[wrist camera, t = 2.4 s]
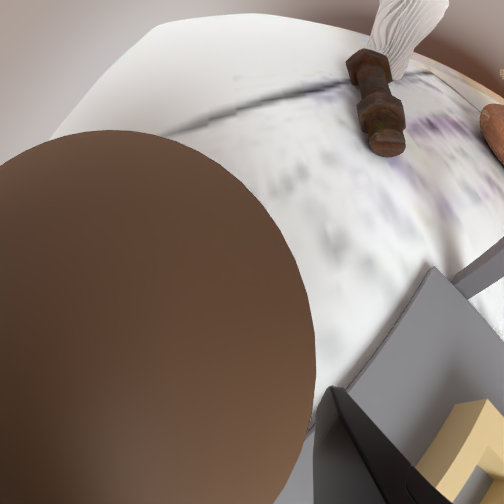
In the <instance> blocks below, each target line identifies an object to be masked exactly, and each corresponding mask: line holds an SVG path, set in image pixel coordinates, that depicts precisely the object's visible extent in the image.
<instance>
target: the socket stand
mask: <svg viewBox="0 0 504 504" xmlns="http://www.w3.org/2000/svg"><path fill="white" fill-rule="evenodd" d="M502 277H504V237H503V238H502V239H500V240H499V241H498V242H497V243H496V244H494V245H493V246H492V247H491V248H490V249H488V250H487V251H486V252H485V253H483V254H482V255H481V256H480V257H478V258H477V259H476V260H475V261H473V262H472V263H471V264H469V265H468V266H467V267H466V268H464V269H463V270H462V271H460V272H459V273H458V274H456V275H455V277H454V279H453V282H452V283H451V282H450V281H449V280H448V279H447V278H446V277H445V276H444V275H443V274H442V273H441V272H440V271H439V270H438V269H437V268H436V267H435V266H434V267H433V268H431V269H430V270H429V271H428V273H427V274H426V276H425V278H424V279H423V281H422V283H421V285H420V286H419V288H418V289H417V291H416V293H415V294H414V296H413V298H412V299H411V301H410V302H409V304H408V306H407V307H406V309H405V310H404V312H403V313H402V315H401V316H400V318H399V319H398V321H397V322H396V324H395V325H394V327H393V328H392V330H391V331H390V333H389V334H388V335H387V337H386V338H385V340H384V341H383V342H382V344H381V345H380V347H379V348H378V349H377V351H376V352H375V353H374V355H373V356H372V357H371V359H370V360H369V361H368V363H367V364H366V365H365V367H364V368H363V369H362V370H361V372H360V373H359V374H358V375H357V377H356V378H355V379H354V380H353V382H352V383H351V384H350V385H349V387H348V388H347V389H346V390H345V391H346V392H347V393H348V394H349V395H350V396H351V397H352V399H353V400H354V401H355V402H356V403H357V404H358V405H359V406H360V408H361V409H362V410H363V411H364V412H365V413H366V414H367V415H368V416H369V418H370V419H371V420H372V421H373V422H374V423H375V424H376V425H377V427H378V428H379V429H380V430H381V431H382V432H383V433H384V434H385V435H386V436H387V438H388V439H389V440H390V441H391V442H392V443H393V444H394V445H395V446H396V447H397V449H398V450H399V451H400V452H401V453H402V454H403V455H404V456H405V457H406V458H407V459H408V461H409V462H410V463H411V466H412V465H413V466H414V467H415V468H416V469H417V470H418V471H419V472H420V473H421V474H422V475H423V476H424V478H425V479H426V480H427V481H428V482H429V483H430V484H431V485H432V486H434V487H435V488H436V489H437V490H438V491H439V492H440V493H441V494H442V495H444V496H445V497H446V498H447V499H448V500H449V501H451V502H452V503H453V504H504V342H503V341H502V340H501V339H500V337H499V336H498V335H497V334H496V332H495V331H494V330H493V329H492V328H491V326H490V325H489V324H488V323H487V322H486V321H485V319H484V318H483V317H482V316H481V315H480V314H479V313H478V312H477V310H476V309H475V308H474V307H473V306H472V305H471V304H470V303H469V302H468V299H469V298H471V297H473V296H474V295H476V294H477V293H479V292H481V291H482V290H484V289H485V288H487V287H488V286H490V285H492V284H493V283H495V282H496V281H498V280H499V279H501V278H502ZM314 434H315V425H314V426H313V427H312V428H311V429H310V430H309V432H308V433H307V434H306V436H305V440H304V443H303V447H302V450H301V453H300V455H299V458H298V460H297V462H296V464H295V466H294V468H293V471H292V473H291V475H290V477H289V479H288V481H287V483H286V485H285V487H284V489H283V490H282V492H281V493H280V495H279V496H278V497H277V499H276V500H275V502H274V503H273V504H313V445H314Z"/></svg>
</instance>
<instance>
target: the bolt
mask: <svg viewBox="0 0 504 504" xmlns="http://www.w3.org/2000/svg"><path fill="white" fill-rule="evenodd" d="M346 66H347V69H348V72H349V76H350V79H351V82H352V84H353V85H356V86H359V87H360V91H361V96H362V101H360V103H359V104H358V105H357V111H358V116H359V120H360V124H361V128H362V131H363V132H364V133H366V134H368V137H369V146H370V149H371V150H372V151H373V152H374V153H376V154H377V155H379V156H382V157H394V156H398V155H400V154H401V153H403V151H404V150H405V147H406V144H405V138H404V135H403V130H404V129H405V128H406V124H405V115H404V110H403V105H402V103H401V100H399V99H397V98H395V97H393V96H392V95H391V92H390V89H389V86H388V83H390V82H391V81H393V80H392V74H391V69H390V65H389V60H388V58H387V56H385V55H383V54H381V53H378V52H376V51H373V50H369V49H364V48H363V49H361V50H359V51H358V52H356V53H355V54H353V55H352V56H351V57H350V58H349V59H348V60H347V61H346Z"/></svg>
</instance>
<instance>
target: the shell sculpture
mask: <svg viewBox="0 0 504 504" xmlns="http://www.w3.org/2000/svg"><path fill="white" fill-rule="evenodd" d="M448 6H449V1H448V0H380V7H379V10H378V12H377V15H376V19H375V22H374V26H373V29H372V32H371V36H370V39H369V42H368V45H367V47H366V49H369V50H373V51H376V52H378V53H381V54H383V55H385V56H387V58H388V60H389V65H390V69H391V74H392V80H399V79H401V78H402V77H403V75H404V72H405V69H406V68H407V66H408V63H409V60H410V58H411V55H412V52H413V50H414V48H415V47H416V46H417V45H418V44H419V43H420V42H421V41H422V40H423V39H424V38H425V37H426V36H427V35H428V34H429V33H430V32H431V31H432V30H433V29H434V28H435V27H436V25H437V24H438V22H439V21H440V20H441V19H442V18H443V16H444V14H445V10H446V9H447V8H448ZM388 12H389V15H388V16H387V17H386V15H387V13H388ZM409 28H410V29H409ZM407 31H408V32H407ZM406 33H407V34H406ZM405 35H406V36H405ZM392 37H393V38H392ZM391 40H392V41H391Z"/></svg>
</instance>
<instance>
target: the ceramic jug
mask: <svg viewBox="0 0 504 504" xmlns="http://www.w3.org/2000/svg"><path fill="white" fill-rule="evenodd" d="M500 77H501V78H502V79H504V69H501V70H500ZM480 127H481V130H482V133H483V135H484V137H485V139H486V141H487V143H488V145H489V147H490V148H491V150H492V151H493V153H494V154H495V155H496V157H497V158H498V159H499V161H500V162H501V163H502V164H503V166H504V105H500V104H489V105H487V106H485V107H484V108H483V110H482V112H481V115H480Z"/></svg>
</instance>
